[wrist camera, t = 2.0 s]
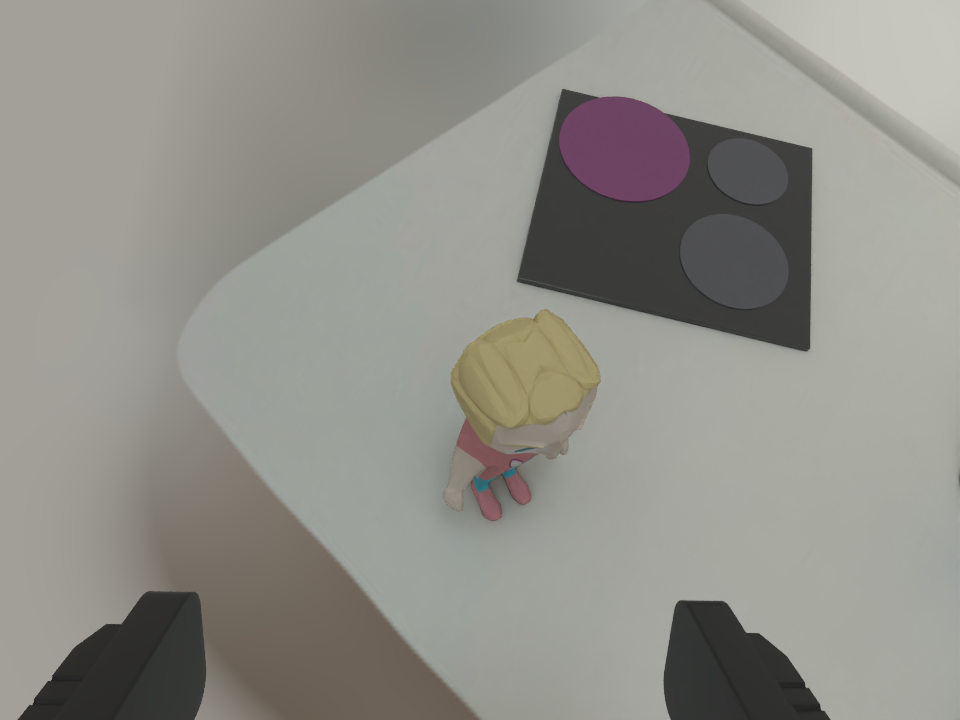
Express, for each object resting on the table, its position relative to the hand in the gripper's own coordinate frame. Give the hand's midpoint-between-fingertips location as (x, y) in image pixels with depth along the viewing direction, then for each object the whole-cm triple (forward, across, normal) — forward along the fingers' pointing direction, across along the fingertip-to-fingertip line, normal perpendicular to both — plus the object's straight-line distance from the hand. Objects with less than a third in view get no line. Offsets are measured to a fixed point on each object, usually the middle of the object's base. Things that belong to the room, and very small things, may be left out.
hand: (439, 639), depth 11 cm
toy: (+22, -3, +8) cm, 23 cm away
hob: (+33, -15, -6) cm, 37 cm away
